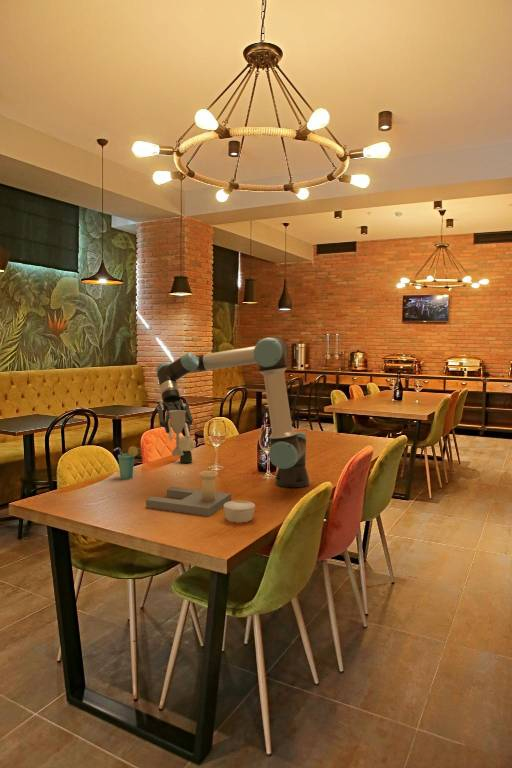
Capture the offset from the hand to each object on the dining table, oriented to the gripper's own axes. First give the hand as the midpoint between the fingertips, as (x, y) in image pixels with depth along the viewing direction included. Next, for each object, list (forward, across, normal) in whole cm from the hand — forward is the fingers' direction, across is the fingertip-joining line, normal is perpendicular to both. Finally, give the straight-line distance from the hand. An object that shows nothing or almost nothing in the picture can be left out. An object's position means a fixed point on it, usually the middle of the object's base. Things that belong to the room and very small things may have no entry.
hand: (179, 438), depth 222 cm
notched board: (+27, 0, -6) cm, 27 cm away
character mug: (-21, -18, -55) cm, 62 cm away
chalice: (+3, 0, -8) cm, 8 cm away
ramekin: (+43, -12, +10) cm, 45 cm away
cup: (-7, +17, -40) cm, 44 cm away
